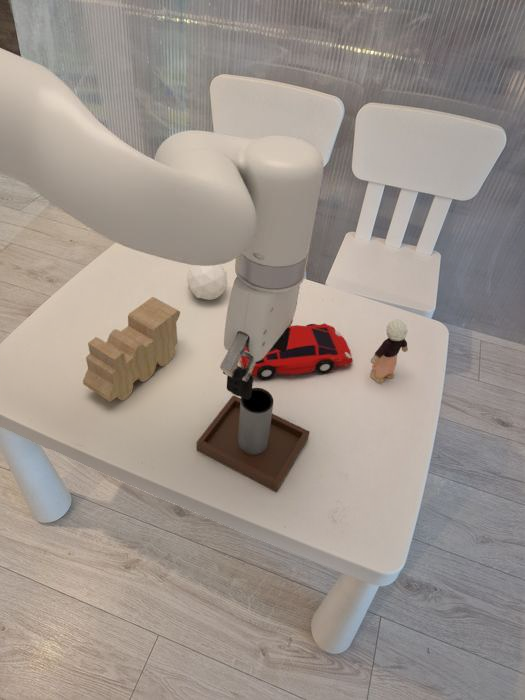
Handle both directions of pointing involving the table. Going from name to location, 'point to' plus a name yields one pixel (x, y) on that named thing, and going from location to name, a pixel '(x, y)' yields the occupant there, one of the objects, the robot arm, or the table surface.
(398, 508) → the table surface
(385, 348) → the grandmother figurine
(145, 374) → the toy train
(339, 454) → the table surface
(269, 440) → the tray
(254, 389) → the grey hollow cylinder
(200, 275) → the geometric ball
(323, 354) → the toy car
